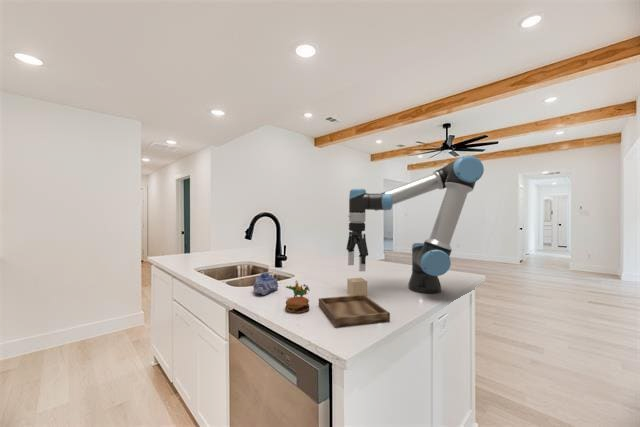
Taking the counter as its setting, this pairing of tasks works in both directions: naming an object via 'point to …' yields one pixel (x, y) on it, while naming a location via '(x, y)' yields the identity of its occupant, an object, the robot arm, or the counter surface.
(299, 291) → the figurine
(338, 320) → the tray
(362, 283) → the tan block
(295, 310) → the burger
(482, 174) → the robot arm
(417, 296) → the counter surface
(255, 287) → the mineral
